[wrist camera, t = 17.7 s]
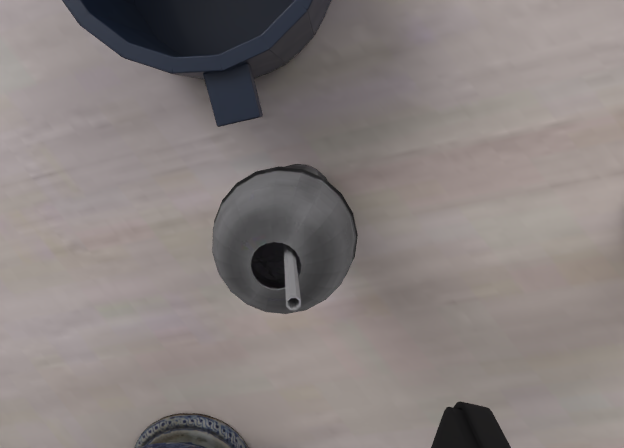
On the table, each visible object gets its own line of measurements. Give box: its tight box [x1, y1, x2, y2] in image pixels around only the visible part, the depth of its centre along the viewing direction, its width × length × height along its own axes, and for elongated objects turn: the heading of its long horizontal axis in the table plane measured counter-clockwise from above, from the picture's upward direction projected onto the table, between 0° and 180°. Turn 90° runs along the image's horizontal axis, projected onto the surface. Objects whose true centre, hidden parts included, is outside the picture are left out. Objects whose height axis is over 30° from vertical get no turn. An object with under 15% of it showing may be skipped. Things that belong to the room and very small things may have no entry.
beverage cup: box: [212, 164, 357, 314], centre depth 24 cm, size 7×7×20 cm
